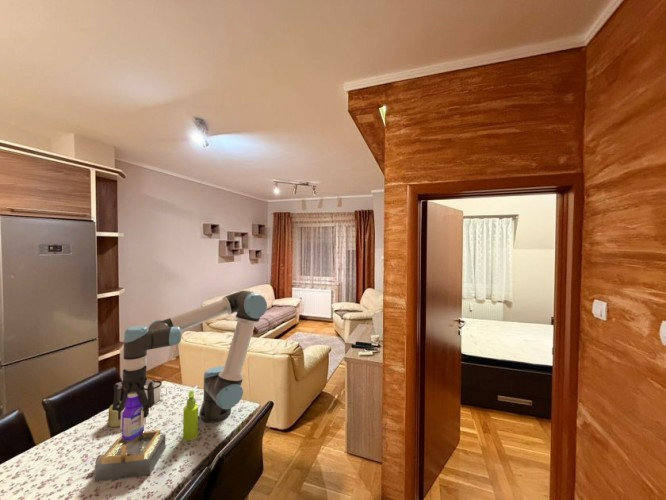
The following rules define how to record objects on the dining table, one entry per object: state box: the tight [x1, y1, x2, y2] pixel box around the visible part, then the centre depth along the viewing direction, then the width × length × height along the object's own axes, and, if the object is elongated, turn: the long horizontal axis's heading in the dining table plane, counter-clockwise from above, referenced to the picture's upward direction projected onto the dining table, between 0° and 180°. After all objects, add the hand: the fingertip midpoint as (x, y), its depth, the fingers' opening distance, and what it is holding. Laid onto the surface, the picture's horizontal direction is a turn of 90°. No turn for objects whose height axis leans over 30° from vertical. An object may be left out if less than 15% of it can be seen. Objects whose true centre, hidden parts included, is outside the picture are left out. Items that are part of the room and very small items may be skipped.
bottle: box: [121, 392, 145, 441], centre depth 108 cm, size 7×6×17 cm
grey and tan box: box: [94, 429, 167, 483], centre depth 108 cm, size 21×15×12 cm
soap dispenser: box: [182, 390, 199, 442], centre depth 124 cm, size 6×7×20 cm
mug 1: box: [107, 401, 121, 428], centre depth 133 cm, size 12×10×10 cm
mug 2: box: [144, 380, 168, 404], centre depth 153 cm, size 12×10×9 cm
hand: (133, 425), depth 108 cm, fingers closed on bottle, 6 cm apart
